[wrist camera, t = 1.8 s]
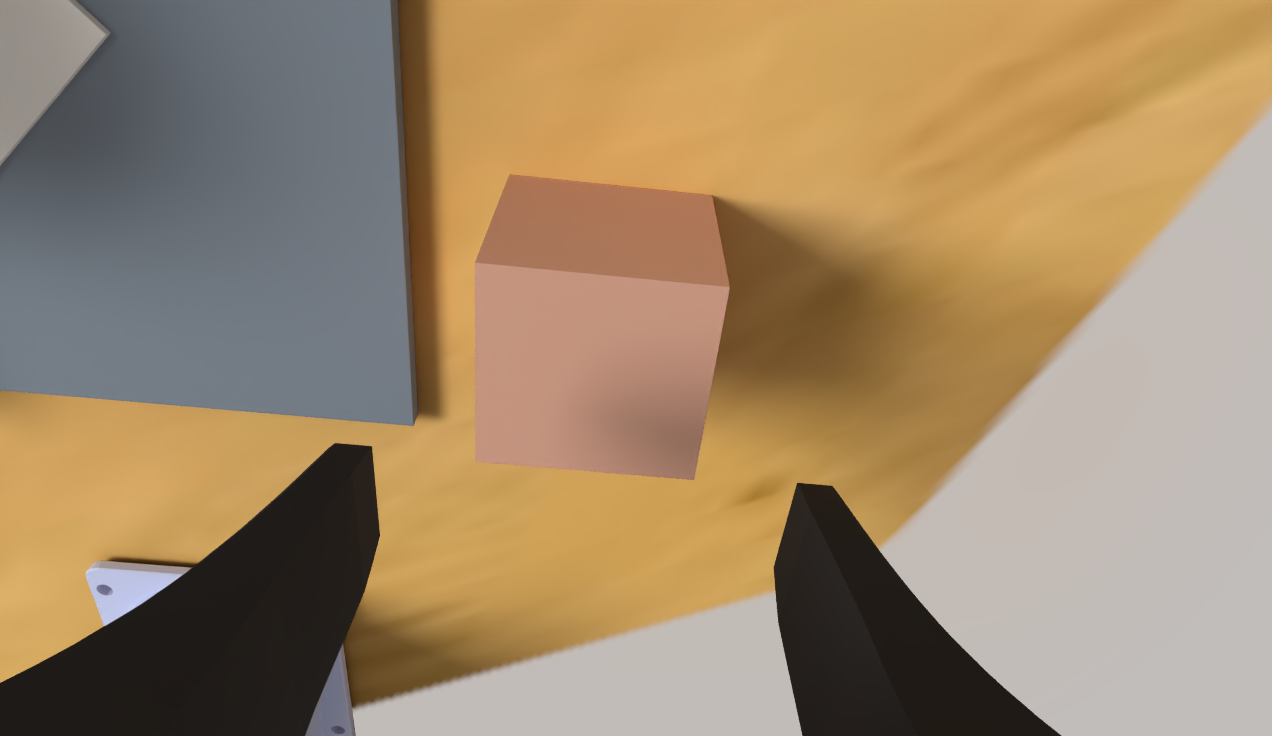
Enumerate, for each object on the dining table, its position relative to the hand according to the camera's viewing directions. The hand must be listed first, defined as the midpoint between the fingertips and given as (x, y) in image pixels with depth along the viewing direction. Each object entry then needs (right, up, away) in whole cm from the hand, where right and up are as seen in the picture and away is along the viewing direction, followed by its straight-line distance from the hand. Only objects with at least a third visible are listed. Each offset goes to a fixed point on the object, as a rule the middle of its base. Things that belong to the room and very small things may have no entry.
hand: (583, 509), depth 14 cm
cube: (0, +5, +8) cm, 9 cm away
